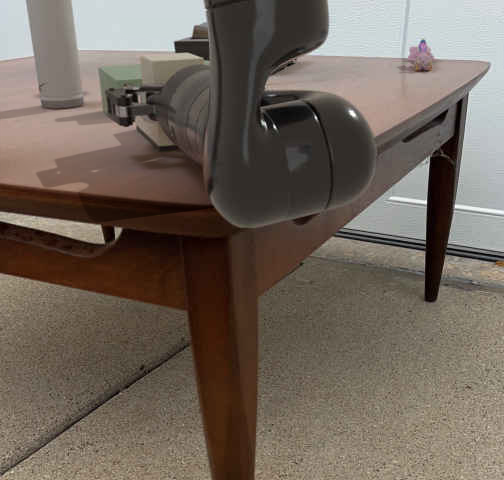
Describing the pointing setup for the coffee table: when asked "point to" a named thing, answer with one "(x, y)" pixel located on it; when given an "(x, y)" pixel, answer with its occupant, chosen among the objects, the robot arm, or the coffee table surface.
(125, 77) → the shoe shelf
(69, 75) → the travel mug
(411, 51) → the rabbit figure
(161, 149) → the beige dark-bottomed block
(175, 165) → the coffee table surface
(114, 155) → the coffee table surface
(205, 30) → the bible
